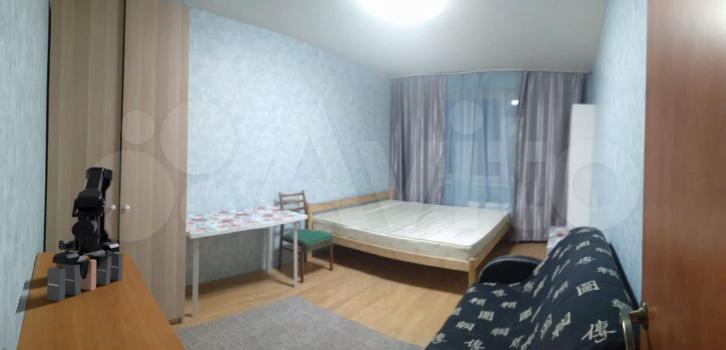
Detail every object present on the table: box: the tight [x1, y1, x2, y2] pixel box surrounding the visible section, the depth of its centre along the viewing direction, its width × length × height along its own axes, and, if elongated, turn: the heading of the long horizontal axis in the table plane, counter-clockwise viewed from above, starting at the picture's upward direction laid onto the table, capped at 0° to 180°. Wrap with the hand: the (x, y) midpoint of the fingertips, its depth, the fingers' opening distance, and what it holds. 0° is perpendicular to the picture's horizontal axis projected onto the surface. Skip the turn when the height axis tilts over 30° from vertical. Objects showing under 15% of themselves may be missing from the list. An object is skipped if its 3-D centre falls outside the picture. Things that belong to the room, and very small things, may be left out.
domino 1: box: [46, 265, 66, 303], centre depth 110 cm, size 2×5×10 cm, turn 76°
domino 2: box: [63, 263, 82, 297], centre depth 114 cm, size 2×5×10 cm, turn 76°
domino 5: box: [108, 251, 124, 282], centre depth 129 cm, size 2×5×10 cm, turn 76°
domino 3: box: [80, 257, 97, 291], centre depth 120 cm, size 2×5×10 cm, turn 75°
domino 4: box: [96, 255, 112, 286], centre depth 125 cm, size 2×5×10 cm, turn 76°
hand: (88, 277), depth 120 cm, fingers open, 3 cm apart
